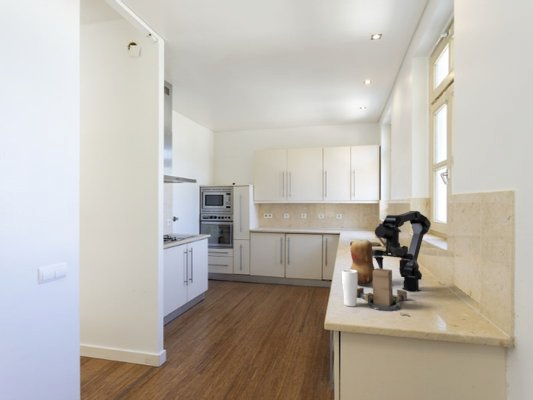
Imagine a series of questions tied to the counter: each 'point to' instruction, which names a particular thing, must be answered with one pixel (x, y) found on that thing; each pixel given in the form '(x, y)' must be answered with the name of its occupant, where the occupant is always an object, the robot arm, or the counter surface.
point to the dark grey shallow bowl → (383, 308)
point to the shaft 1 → (363, 294)
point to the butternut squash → (362, 261)
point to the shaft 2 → (400, 296)
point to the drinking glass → (350, 287)
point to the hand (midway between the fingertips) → (391, 273)
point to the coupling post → (382, 287)
